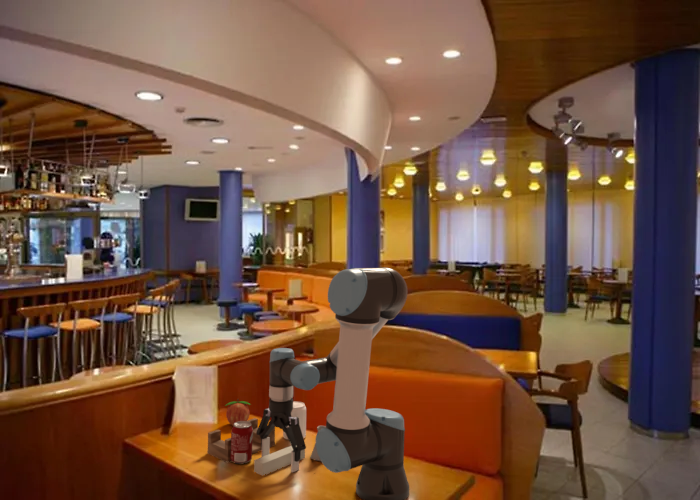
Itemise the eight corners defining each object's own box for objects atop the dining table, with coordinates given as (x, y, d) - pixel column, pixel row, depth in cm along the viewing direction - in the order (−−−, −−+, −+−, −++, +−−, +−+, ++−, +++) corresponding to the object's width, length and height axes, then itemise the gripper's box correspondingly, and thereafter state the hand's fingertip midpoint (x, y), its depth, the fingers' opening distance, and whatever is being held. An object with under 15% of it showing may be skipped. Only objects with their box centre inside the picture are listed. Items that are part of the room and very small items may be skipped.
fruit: (248, 428, 207) (248, 402, 207) (222, 428, 206) (222, 402, 206) (251, 421, 215) (251, 395, 215) (226, 421, 215) (227, 395, 215)
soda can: (247, 466, 174) (249, 429, 173) (226, 463, 175) (228, 426, 174) (254, 457, 180) (256, 421, 180) (234, 455, 181) (236, 419, 181)
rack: (254, 437, 198) (254, 418, 198) (275, 445, 191) (275, 425, 191) (207, 453, 183) (207, 432, 183) (228, 462, 176) (228, 441, 176)
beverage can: (280, 435, 201) (280, 402, 200) (301, 432, 204) (301, 400, 204) (287, 443, 193) (287, 409, 193) (309, 439, 197) (309, 406, 197)
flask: (306, 459, 180) (306, 428, 180) (317, 451, 187) (318, 422, 186) (325, 463, 177) (326, 432, 177) (336, 455, 183) (336, 425, 183)
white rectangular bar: (296, 455, 183) (296, 443, 183) (304, 458, 181) (304, 446, 181) (254, 472, 170) (254, 460, 170) (262, 476, 167) (263, 463, 167)
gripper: (318, 404, 169) (316, 472, 170) (263, 387, 185) (262, 450, 186) (300, 409, 163) (299, 480, 164) (246, 392, 180) (245, 456, 180)
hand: (279, 464), depth 175 cm, fingers open, 13 cm apart
